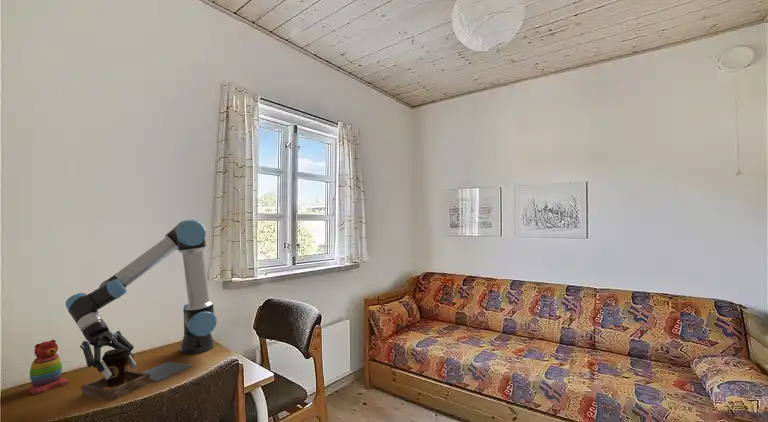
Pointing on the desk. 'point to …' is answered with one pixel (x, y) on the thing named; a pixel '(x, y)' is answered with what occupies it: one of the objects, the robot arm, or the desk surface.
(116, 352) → the coffee cup
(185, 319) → the robot arm
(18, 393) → the desk surface
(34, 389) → the stacking bear
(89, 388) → the square frame
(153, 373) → the mat
